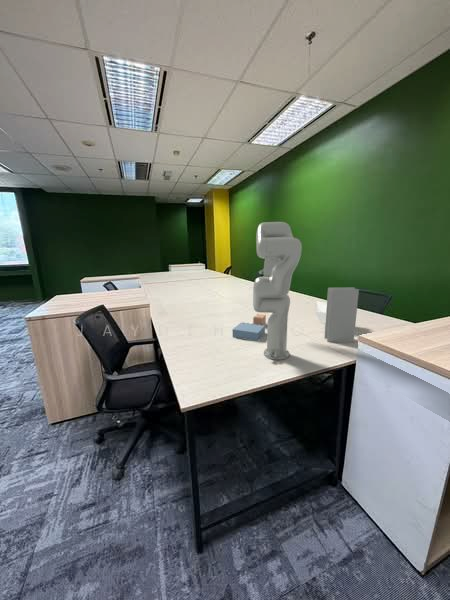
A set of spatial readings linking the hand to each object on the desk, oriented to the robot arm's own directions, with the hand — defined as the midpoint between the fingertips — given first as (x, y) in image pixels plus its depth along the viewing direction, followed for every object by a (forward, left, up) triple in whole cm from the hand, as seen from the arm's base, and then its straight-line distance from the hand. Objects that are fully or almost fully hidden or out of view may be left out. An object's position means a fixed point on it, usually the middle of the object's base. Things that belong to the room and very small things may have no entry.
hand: (272, 285), depth 144 cm
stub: (+13, +12, -30) cm, 35 cm away
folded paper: (+29, -32, -31) cm, 53 cm away
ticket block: (-8, +12, -30) cm, 34 cm away
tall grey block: (+4, -38, -31) cm, 49 cm away
